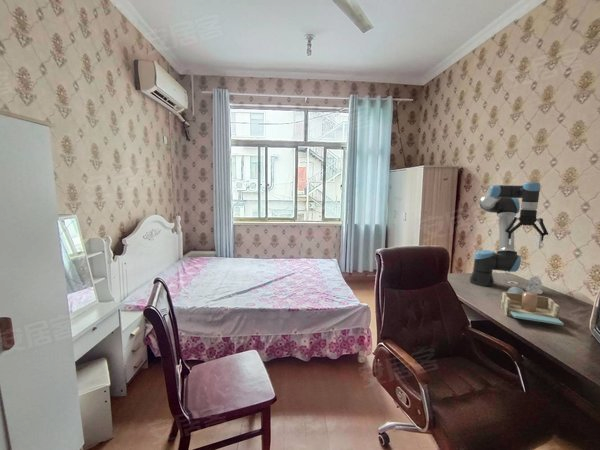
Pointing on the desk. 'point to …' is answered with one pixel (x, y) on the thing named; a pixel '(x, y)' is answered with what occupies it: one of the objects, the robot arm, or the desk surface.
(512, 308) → the crate
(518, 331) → the desk surface
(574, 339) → the desk surface
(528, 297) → the brown egg
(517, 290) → the spool
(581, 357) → the desk surface
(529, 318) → the cabinet door
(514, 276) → the desk surface
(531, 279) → the figurine
